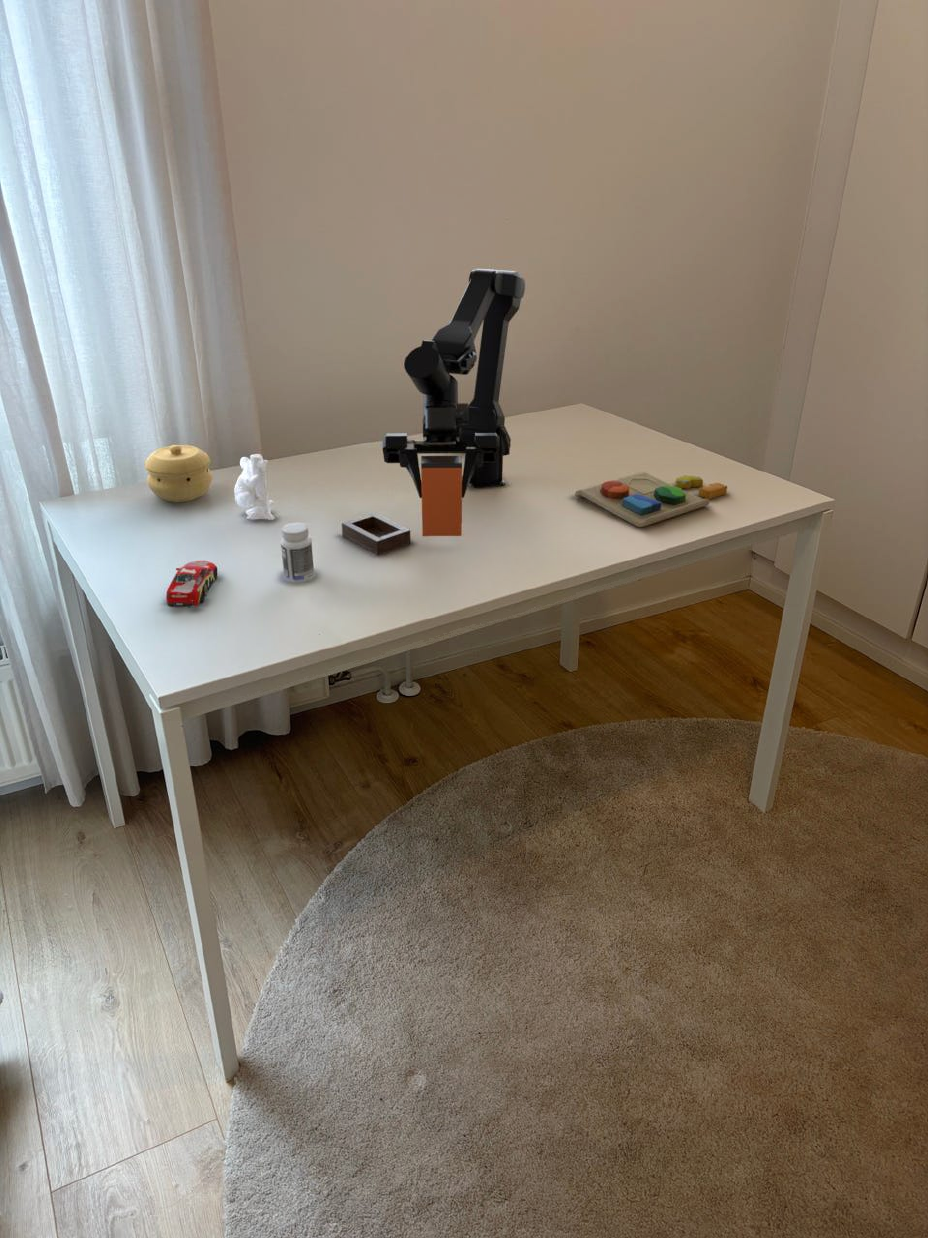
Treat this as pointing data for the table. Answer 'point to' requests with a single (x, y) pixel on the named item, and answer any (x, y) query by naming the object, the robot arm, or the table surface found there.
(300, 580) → the pill bottle
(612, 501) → the shape puzzle
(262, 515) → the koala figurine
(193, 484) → the pot
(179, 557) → the table surface
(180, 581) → the race car
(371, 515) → the slot
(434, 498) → the box
